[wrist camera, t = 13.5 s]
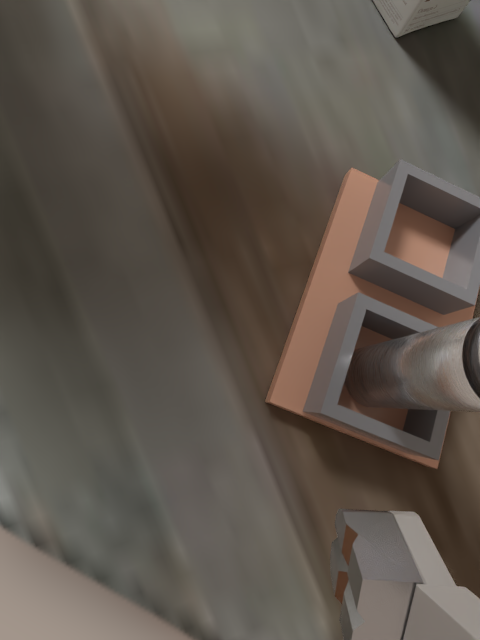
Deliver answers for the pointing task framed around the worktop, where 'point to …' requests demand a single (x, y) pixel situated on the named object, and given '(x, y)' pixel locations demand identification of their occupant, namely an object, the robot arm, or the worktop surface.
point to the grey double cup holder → (381, 300)
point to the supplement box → (417, 13)
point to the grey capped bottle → (420, 370)
